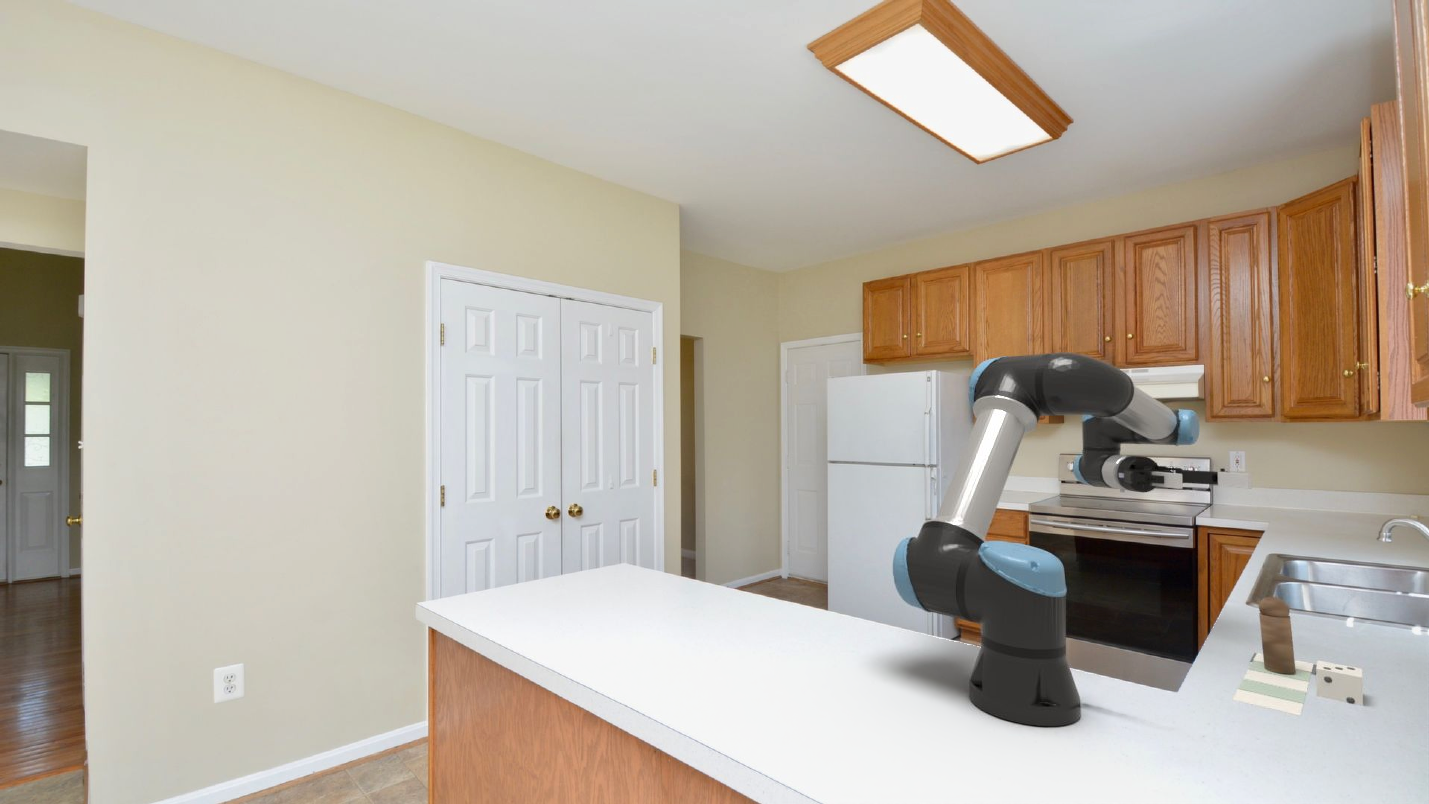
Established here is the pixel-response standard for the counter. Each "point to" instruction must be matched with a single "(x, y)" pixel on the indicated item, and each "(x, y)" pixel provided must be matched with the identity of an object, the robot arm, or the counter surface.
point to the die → (1339, 682)
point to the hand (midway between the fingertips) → (1215, 481)
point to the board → (1269, 702)
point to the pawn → (1276, 636)
